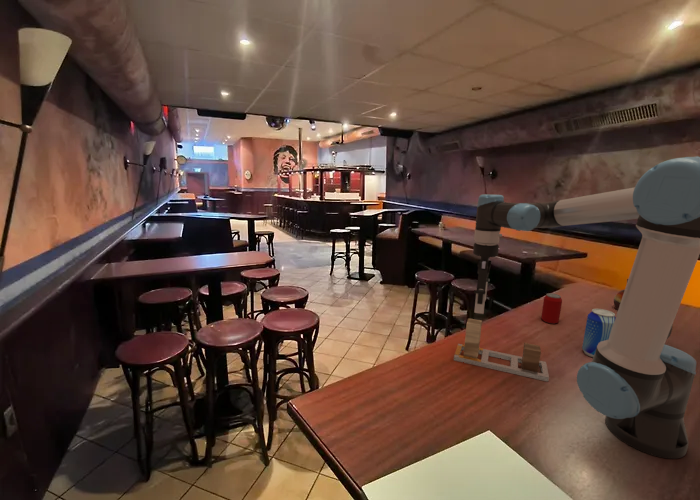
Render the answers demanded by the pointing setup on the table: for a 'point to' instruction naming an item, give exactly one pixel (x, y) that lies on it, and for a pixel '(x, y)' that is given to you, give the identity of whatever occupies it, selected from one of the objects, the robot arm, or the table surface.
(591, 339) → the beer can
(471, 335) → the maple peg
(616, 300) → the vase
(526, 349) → the walnut peg
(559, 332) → the table surface
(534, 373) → the white yellow rectangular frame
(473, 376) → the table surface
